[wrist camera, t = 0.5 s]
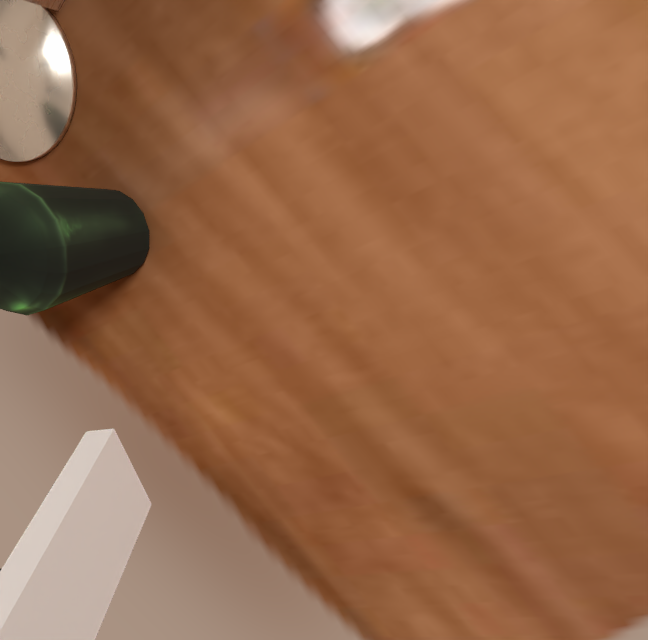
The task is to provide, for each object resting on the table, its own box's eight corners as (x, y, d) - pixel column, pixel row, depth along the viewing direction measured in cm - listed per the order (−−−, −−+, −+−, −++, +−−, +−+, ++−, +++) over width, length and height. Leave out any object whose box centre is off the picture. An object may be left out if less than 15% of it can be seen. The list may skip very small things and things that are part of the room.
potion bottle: (151, 301, 45) (-73, 380, 29) (65, 265, 47) (-189, 320, 31) (170, 197, 43) (-65, 218, 26) (79, 163, 45) (-193, 164, 28)
